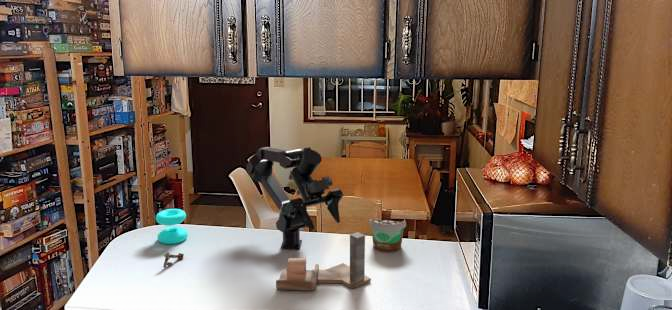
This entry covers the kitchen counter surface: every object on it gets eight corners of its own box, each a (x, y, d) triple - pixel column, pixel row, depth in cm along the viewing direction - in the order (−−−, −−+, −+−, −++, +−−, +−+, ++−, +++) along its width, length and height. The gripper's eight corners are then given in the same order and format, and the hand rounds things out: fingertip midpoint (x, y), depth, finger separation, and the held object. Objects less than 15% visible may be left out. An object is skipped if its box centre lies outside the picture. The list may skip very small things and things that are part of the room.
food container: (366, 252, 166) (367, 223, 163) (369, 244, 172) (369, 216, 169) (404, 255, 164) (405, 226, 161) (405, 247, 169) (406, 219, 167)
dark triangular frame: (159, 267, 154) (162, 252, 155) (176, 266, 161) (179, 252, 162) (164, 268, 153) (167, 253, 154) (181, 267, 161) (184, 253, 161)
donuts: (184, 206, 180) (186, 215, 171) (187, 232, 182) (188, 243, 173) (155, 209, 177) (155, 219, 167) (157, 235, 179) (158, 247, 170)
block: (289, 273, 149) (288, 258, 148) (306, 274, 149) (305, 258, 147) (286, 282, 144) (286, 266, 143) (304, 282, 144) (304, 266, 143)
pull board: (261, 280, 147) (259, 233, 144) (326, 256, 162) (326, 213, 158) (302, 310, 132) (301, 258, 128) (370, 281, 146) (371, 234, 143)
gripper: (287, 173, 147) (310, 219, 140) (339, 163, 157) (362, 205, 151) (275, 194, 155) (296, 238, 148) (325, 183, 165) (347, 223, 159)
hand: (326, 225), depth 151 cm, fingers open, 9 cm apart
